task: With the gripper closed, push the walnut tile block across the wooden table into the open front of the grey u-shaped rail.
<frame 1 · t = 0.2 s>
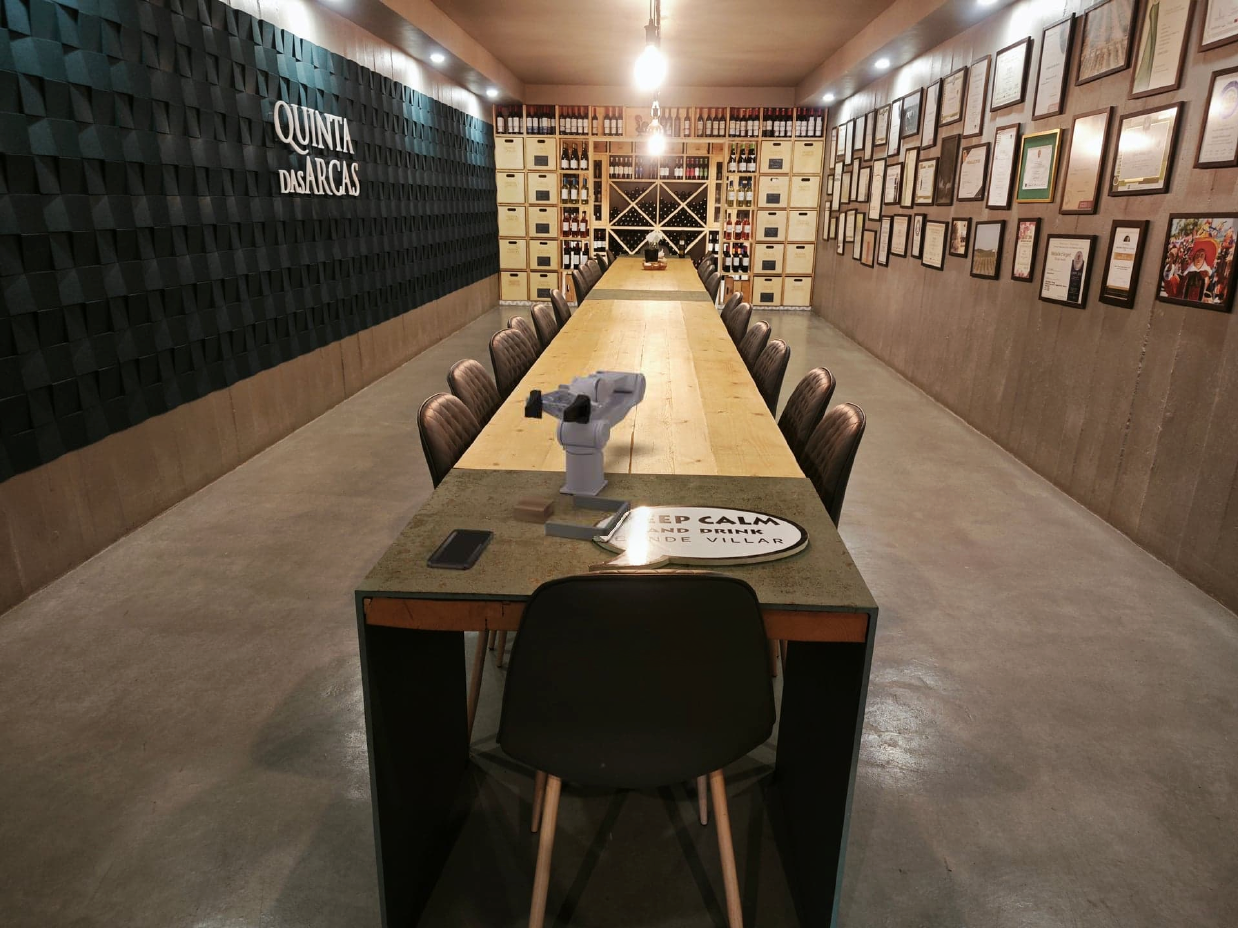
hand: (545, 414, 144), 21 cm above the table, tool horizontal, fingers open, 7 cm apart
grey u-shaped rail: (589, 523, 150), on the table
phone: (462, 553, 138), on the table
walnut tile: (534, 517, 153), on the table
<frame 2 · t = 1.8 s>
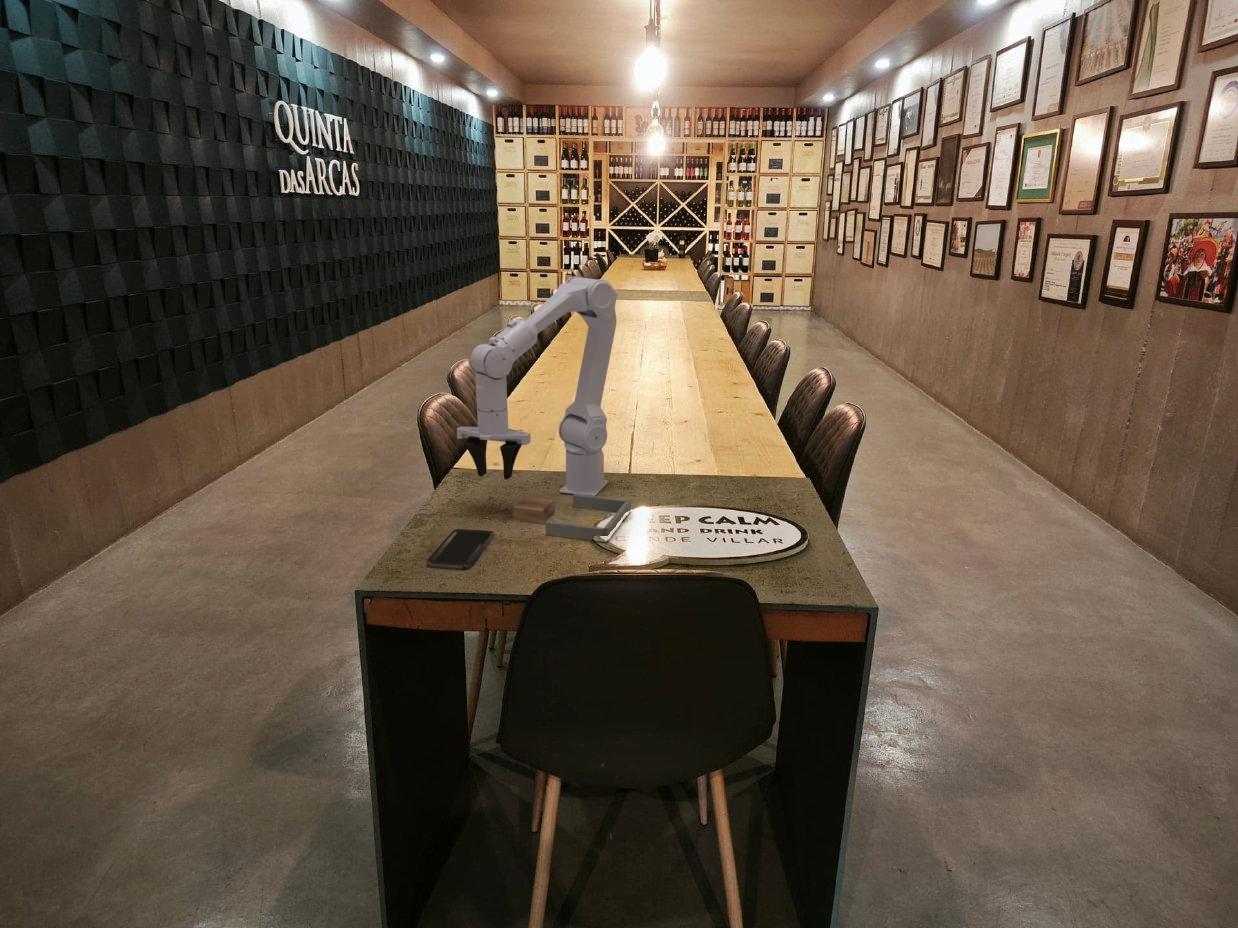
hand: (495, 476, 153), 7 cm above the table, tool pointing down, fingers open, 5 cm apart
nothing on the table moved.
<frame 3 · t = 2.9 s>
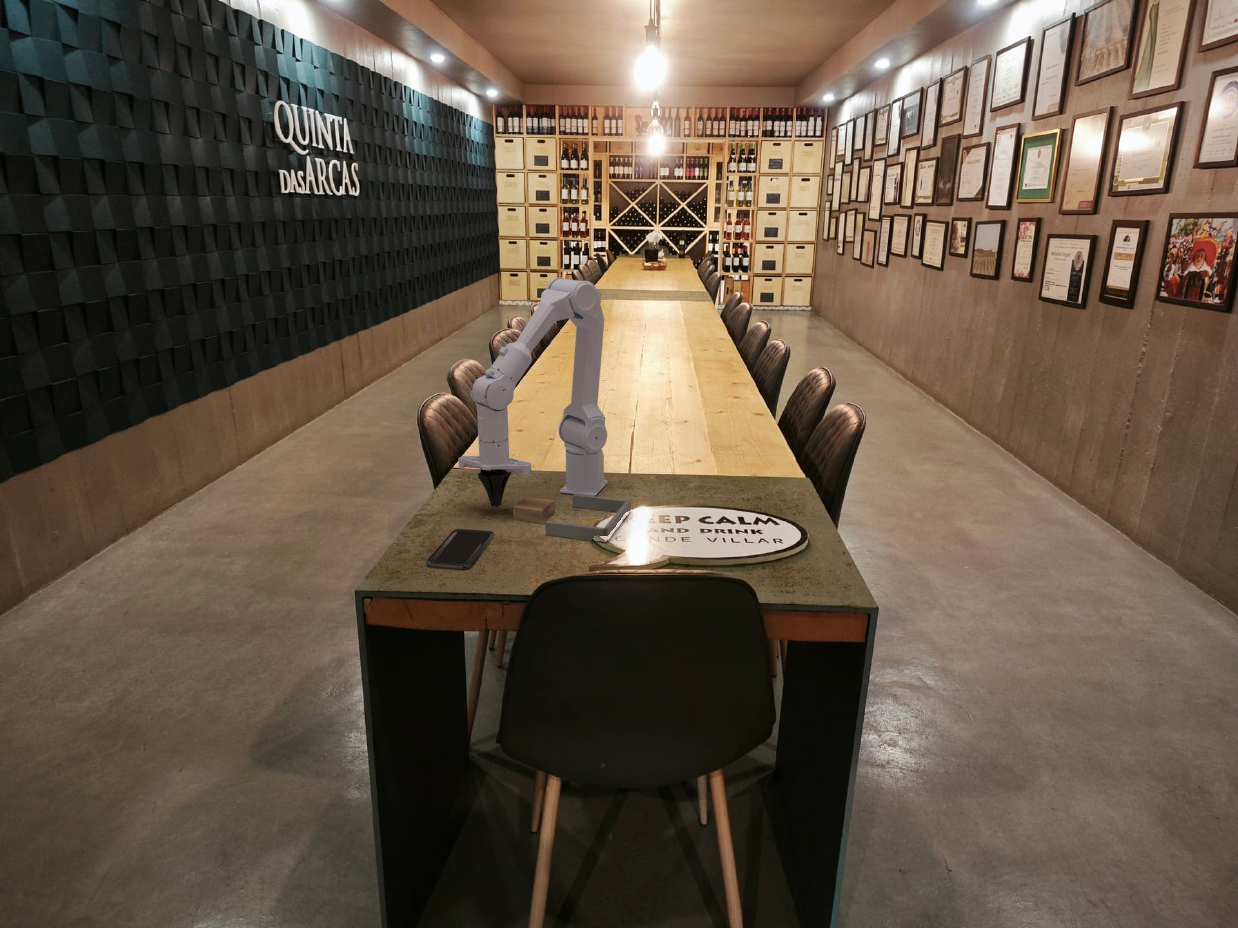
hand: (496, 504, 155), 1 cm above the table, tool pointing down, fingers closed
nothing on the table moved.
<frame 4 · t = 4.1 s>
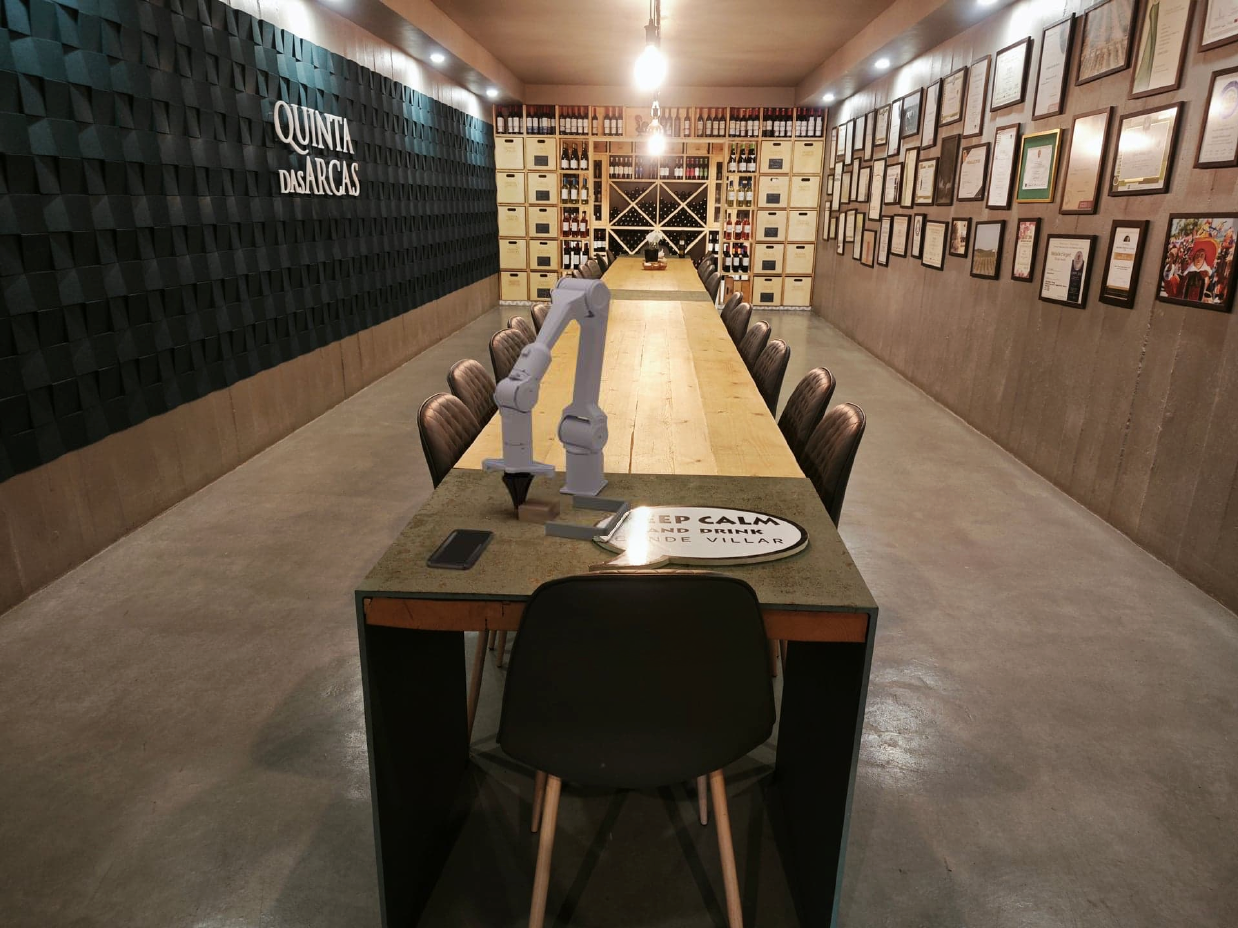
hand: (519, 507, 153), 1 cm above the table, tool pointing down, fingers closed
walnut tile: (539, 517, 153), on the table, touching gripper
everything else where it was.
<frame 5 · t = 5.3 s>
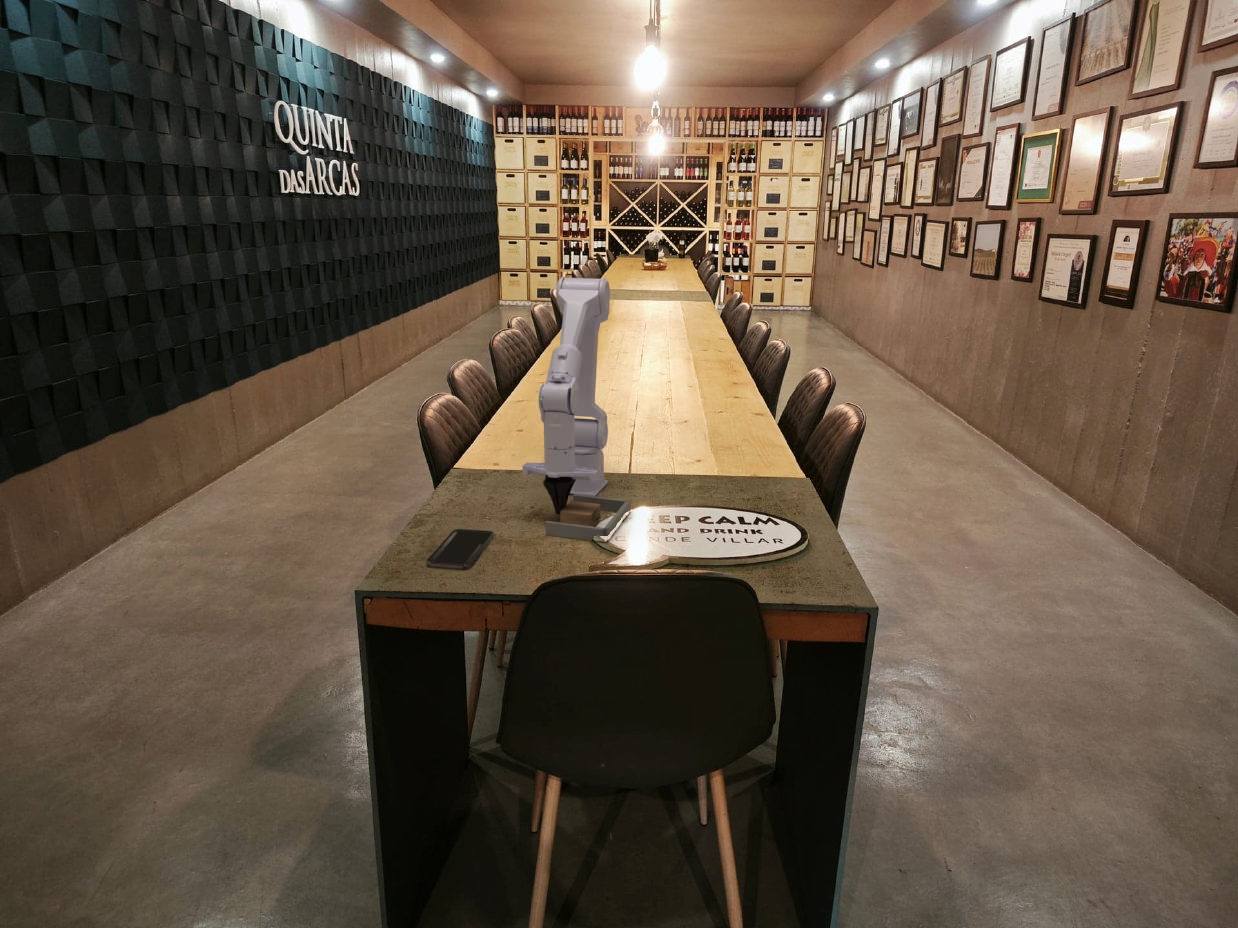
hand: (560, 512, 151), 1 cm above the table, tool pointing down, fingers closed
walnut tile: (580, 522, 150), on the table, touching gripper
everything else where it was.
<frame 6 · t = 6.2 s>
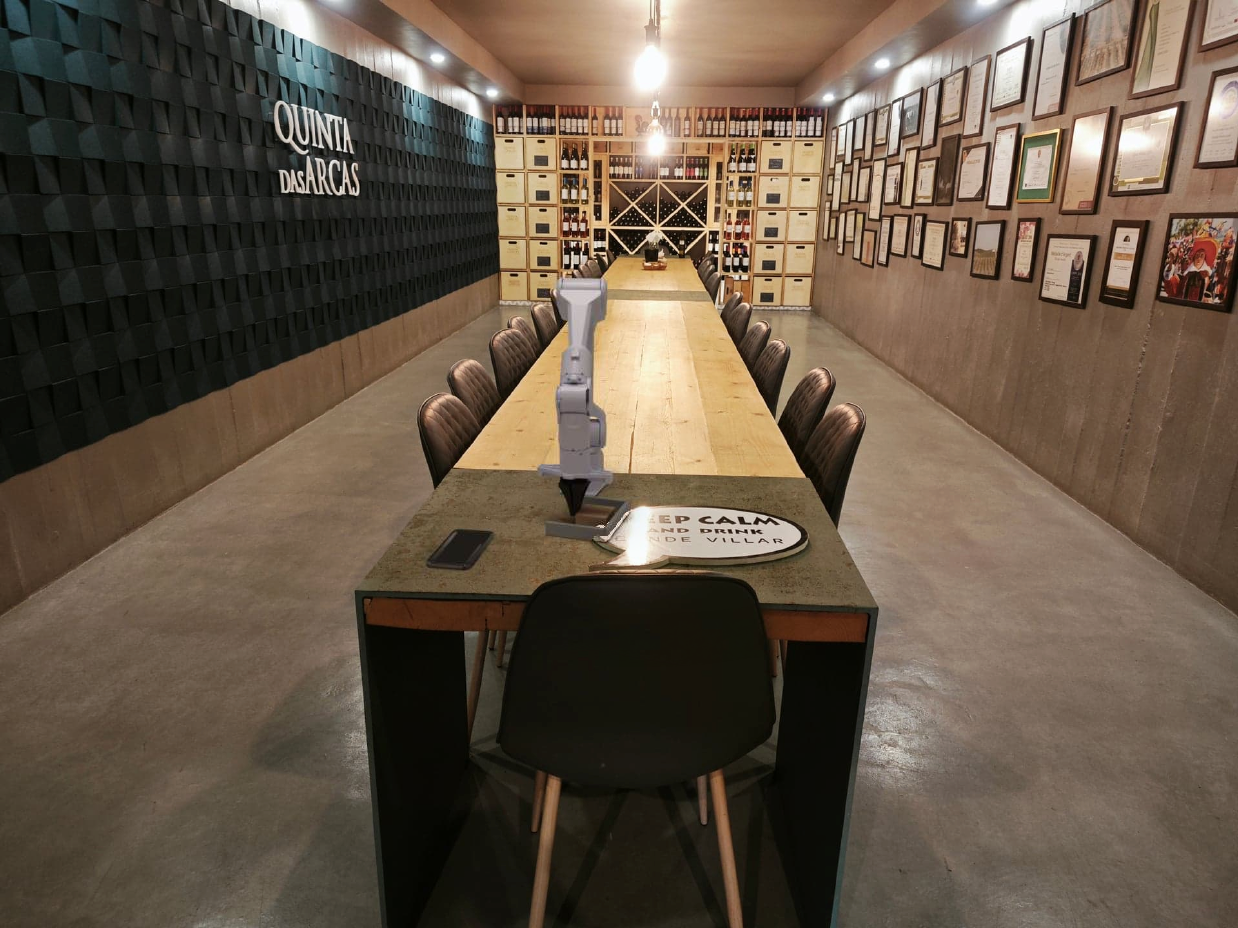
hand: (575, 514, 150), 1 cm above the table, tool pointing down, fingers closed
walnut tile: (595, 525, 150), on the table
everything else where it was.
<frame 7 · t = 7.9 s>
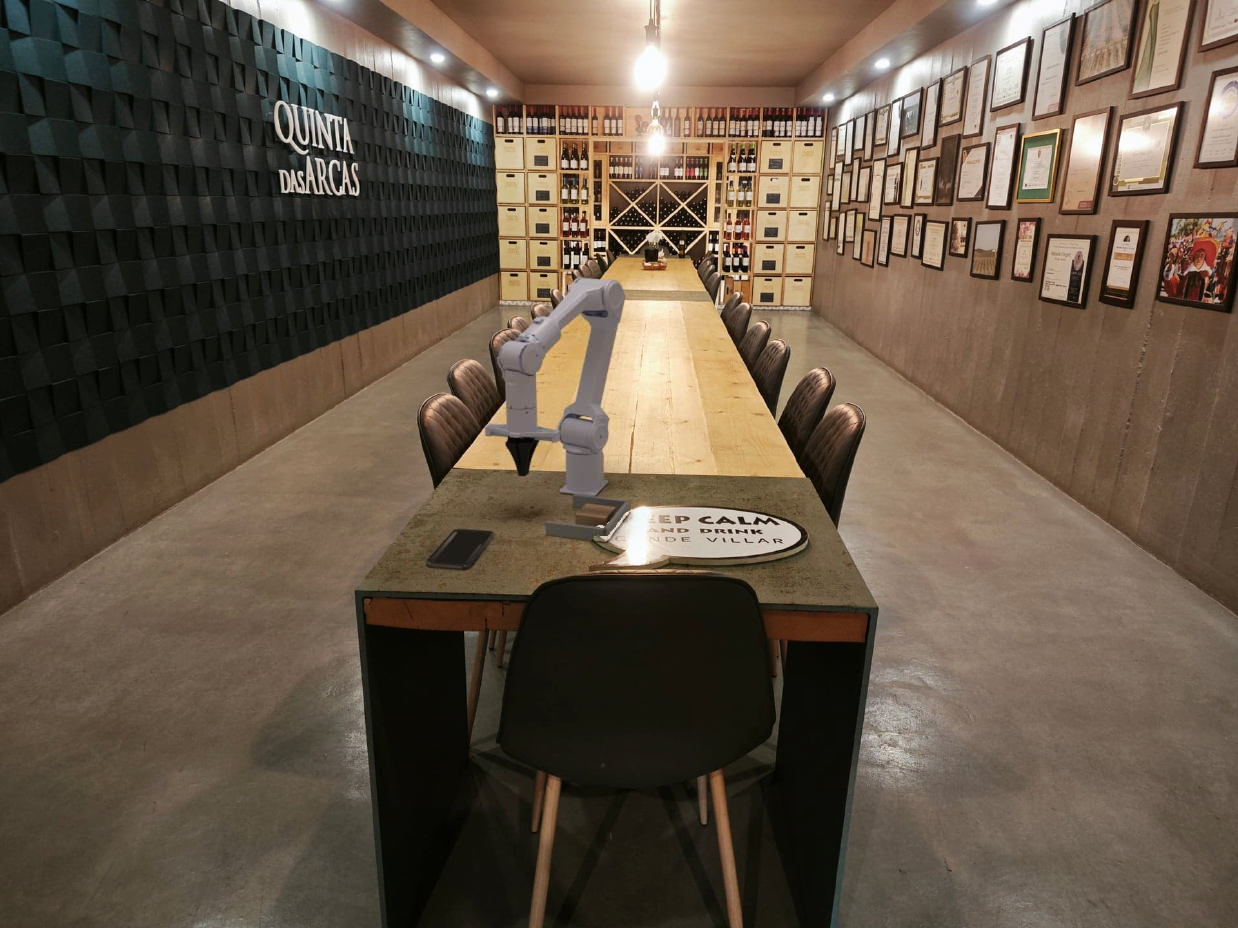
hand: (523, 474, 151), 8 cm above the table, tool pointing down, fingers closed
nothing on the table moved.
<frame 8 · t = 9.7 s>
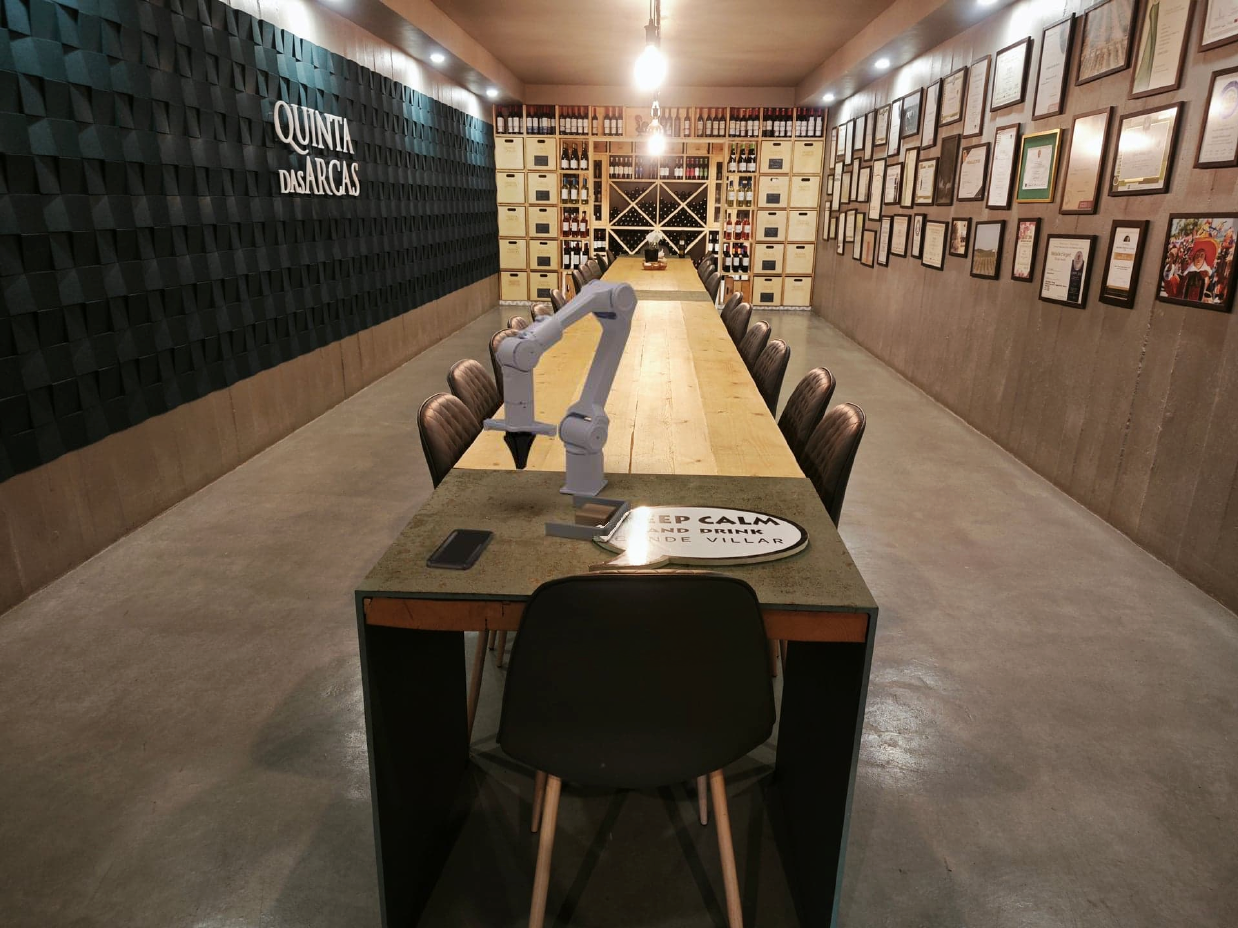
hand: (521, 468, 155), 8 cm above the table, tool pointing down, fingers closed
nothing on the table moved.
at the end: walnut tile inside the target area on the grey u-shaped rail (1.2 cm from its centre), point 0.0 cm above the grey u-shaped rail's base; walnut tile moved 12.6 cm from its start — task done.
